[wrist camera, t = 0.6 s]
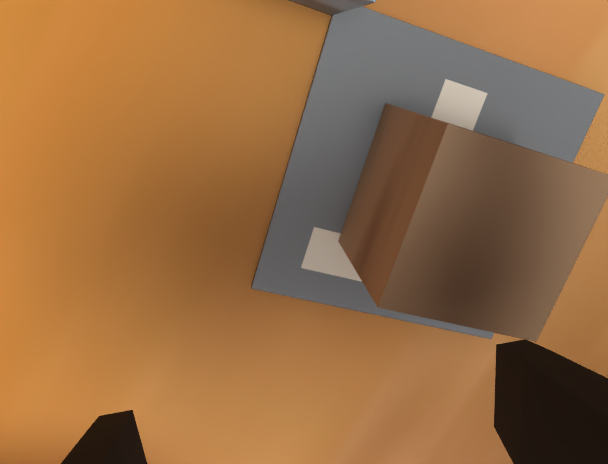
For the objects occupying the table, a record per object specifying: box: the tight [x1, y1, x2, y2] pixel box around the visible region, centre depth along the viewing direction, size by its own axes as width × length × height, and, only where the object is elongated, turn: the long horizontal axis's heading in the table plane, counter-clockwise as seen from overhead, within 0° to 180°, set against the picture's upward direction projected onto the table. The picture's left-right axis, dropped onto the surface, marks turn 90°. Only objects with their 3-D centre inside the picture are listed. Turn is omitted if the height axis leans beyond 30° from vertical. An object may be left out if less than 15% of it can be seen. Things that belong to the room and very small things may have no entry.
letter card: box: [251, 6, 605, 339], centre depth 18 cm, size 10×10×1 cm
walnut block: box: [338, 103, 608, 342], centre depth 16 cm, size 5×5×5 cm
